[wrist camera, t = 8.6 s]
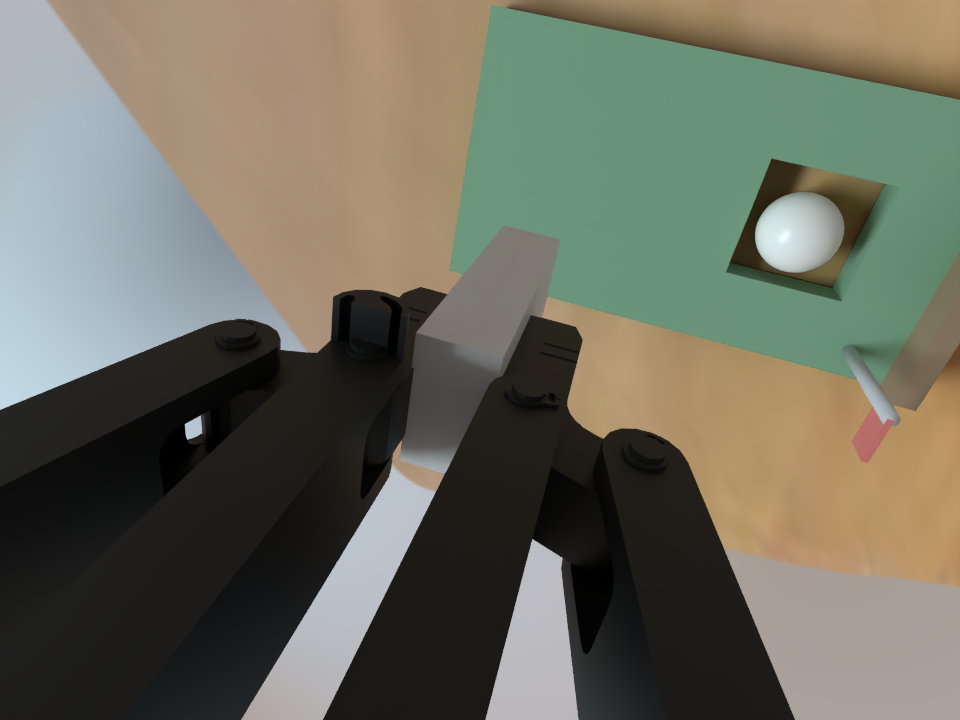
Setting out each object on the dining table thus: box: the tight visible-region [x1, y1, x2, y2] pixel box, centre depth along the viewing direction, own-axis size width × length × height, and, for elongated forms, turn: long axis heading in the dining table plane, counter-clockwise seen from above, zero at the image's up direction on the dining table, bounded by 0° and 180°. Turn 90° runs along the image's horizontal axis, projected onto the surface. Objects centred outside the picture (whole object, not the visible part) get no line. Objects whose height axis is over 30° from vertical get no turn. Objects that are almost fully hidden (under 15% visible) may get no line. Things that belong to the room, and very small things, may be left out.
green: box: [449, 5, 960, 463], centre depth 29 cm, size 15×26×9 cm, turn 80°
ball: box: [755, 192, 844, 273], centre depth 31 cm, size 4×4×4 cm
